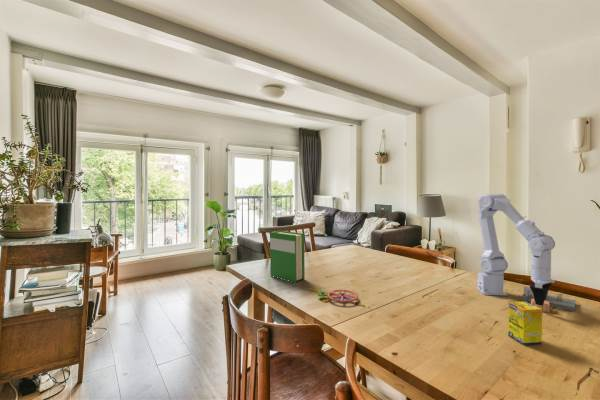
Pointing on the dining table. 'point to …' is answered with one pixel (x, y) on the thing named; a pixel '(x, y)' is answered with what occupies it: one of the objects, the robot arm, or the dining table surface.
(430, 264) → the dining table surface
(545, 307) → the loose gear
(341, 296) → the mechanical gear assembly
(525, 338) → the supplement box
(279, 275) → the hardback book
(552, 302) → the gear board
